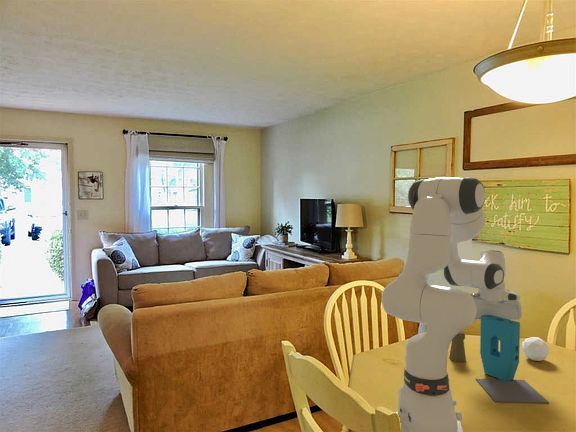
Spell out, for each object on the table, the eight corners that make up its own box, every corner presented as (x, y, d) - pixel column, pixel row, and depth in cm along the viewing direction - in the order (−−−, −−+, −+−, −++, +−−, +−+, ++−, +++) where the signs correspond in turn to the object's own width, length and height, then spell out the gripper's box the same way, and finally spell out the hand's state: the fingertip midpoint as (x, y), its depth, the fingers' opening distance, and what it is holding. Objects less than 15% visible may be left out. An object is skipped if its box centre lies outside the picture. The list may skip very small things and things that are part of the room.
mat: (549, 403, 123) (549, 402, 123) (495, 402, 124) (495, 400, 124) (523, 380, 138) (523, 379, 138) (475, 379, 139) (475, 378, 139)
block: (478, 370, 145) (479, 316, 144) (487, 367, 148) (487, 314, 147) (511, 384, 135) (512, 325, 134) (520, 380, 138) (521, 322, 137)
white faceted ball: (558, 360, 150) (539, 351, 162) (549, 336, 151) (531, 329, 163) (535, 367, 151) (518, 358, 163) (526, 343, 151) (510, 336, 163)
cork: (468, 362, 154) (469, 333, 153) (452, 362, 154) (453, 333, 154) (462, 355, 160) (462, 328, 160) (446, 355, 160) (447, 328, 160)
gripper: (465, 295, 145) (464, 333, 145) (524, 295, 143) (523, 334, 144) (459, 291, 151) (458, 327, 152) (515, 291, 149) (514, 328, 150)
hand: (490, 330), depth 148 cm, fingers closed
